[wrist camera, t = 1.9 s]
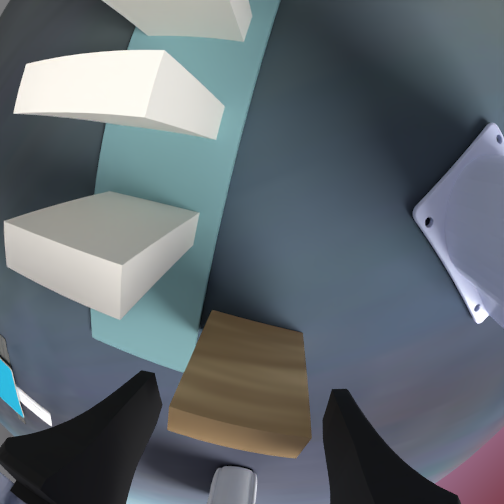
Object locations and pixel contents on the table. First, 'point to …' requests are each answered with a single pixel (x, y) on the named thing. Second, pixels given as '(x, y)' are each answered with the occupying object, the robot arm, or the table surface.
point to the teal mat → (182, 186)
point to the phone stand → (16, 389)
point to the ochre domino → (245, 388)
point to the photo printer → (233, 486)
